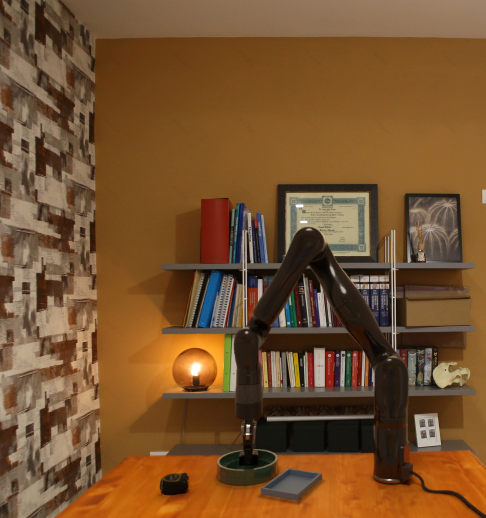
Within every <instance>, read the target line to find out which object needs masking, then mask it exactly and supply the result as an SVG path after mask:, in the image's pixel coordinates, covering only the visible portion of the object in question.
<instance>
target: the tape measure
mask: <svg viewBox="0 0 486 518" xmlns="http://www.w3.org/2000/svg"><path fill="white" fill-rule="evenodd" d="M189 477H190V476H189V475H188V473H187V472H181V473H176V472H175V473H169V474H166V475H164V476H163V477H161V479H160V481H159V490H160V492H161V494H163V495H167V496H174V495H178V494H182V493H187V492H188V490H189Z"/></svg>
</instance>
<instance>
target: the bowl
mask: <svg viewBox="0 0 486 518" xmlns="http://www.w3.org/2000/svg"><path fill="white" fill-rule="evenodd" d="M253 451H257V452H258V465H247V466H239V455H240V453H241V452H244V451H243V449H241V450H235V451H231V452H228V453H225V454H223V455H222V456H219V458H218V459H217V461H216V480H218V481H219V483H222V484H225V485H227V486H228V485H229V486H237V487H244V486H245V487H246V486H254V485H259V484H263V483H266V482H268V481H269V482H270V481H271V480H273V479H274V478H276V477H277V476H278V473H279V457H278V455H277V453H274V452H273V451H271V450H267V449H258V448H257V449H256V448H255V449H254V450H253Z"/></svg>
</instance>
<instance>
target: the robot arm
mask: <svg viewBox="0 0 486 518" xmlns="http://www.w3.org/2000/svg"><path fill="white" fill-rule="evenodd" d="M308 267H309V269H310V270H311V272H313V274H314V275H315V277H316V279H317V280H318V282H319V284H320V287H321V289H322V292H323V295H324V296H325V298H326V301H327V303H328V305H329V307H330V308H331V310H332V311H333V313H334V315H335V317H336V319H338V321H339V323H340V324H341V325H342V327H343V328H344V329H345V331H346V332H347V333H348V334H349V336H350V337H351V338H352V339H353V340H354V341H355V342H356V343H357V345H358V346H359V347H360V348H361V350H362V352H363V353H364V355H365V357H366V358H367V360H368V363H369V364H370V366H371V369H372V371H373V383H374V384H373V473H372V476H373V480H375V481H377V482H379V483H382V484H390V485H394V484H395V485H396V484H405V483H406V482H407V481H409V480H410V479H411V478H412V476H414V477H416V478H417V479H418V480H419V481H420V485H421V488H422V489H423V490H424V491H425V492H427V493H430V494H431V493H432V494H443V495H444V494H447V495H453V496H455V497H458V498H459V499H461V501H462V502H463V503H465V504H466V506H467V507H469V508H470V509H472V510H473V511H474V512H475V513H476V514H478V515H479V516H480V517H482V518H486V513H484V512H483V511H482V510H480V509H478V508H477V507H476V506H475V505H473V504H472V503H471V502H469V500H467V498H466V497H464V496H463V495H462V494H460V493H459V492H457V491H454V490H449V489H439V490H436V489H430V488H428V487H427V486H426V485H425V479H424V478H423V477H422V476H421V475H420V474H418V473H417V472H415V471H414V463H413V462H410V455H411V454H410V449H411V448H410V447H411V446H410V445H411V444H410V443H411V442H410V440H408V407H409V388H410V387H409V382H410V381H409V380H410V379H409V376H410V375H409V369H408V366H407V364H406V362H405V360H404V359H403V357H401V356H400V355H399V353H398V352H397V351H396V350H395V349H394V348H393V346H392V344H390V342H389V341H388V339H387V338H386V336H385V335H384V333H383V332H382V329H381V328H380V326H379V325H380V324H379V323H378V321H377V319H376V317H375V315H374V313H373V311H372V310H371V307H370V306H369V304H368V303H367V300H366V299H365V298H364V296H363V295H362V293H361V292H360V290H359V288H358V287H357V286H356V285H355V283H354V282H353V281H352V279H351V278H350V277H349V276H348V274H347V273H346V271H344V270H343V268H342V267H341V266H340V264H339V262H338V261H337V259H336V257H335V255H334V253H333V251H332V249H331V247H330V245H329V243H328V241H327V238H326V236H325V234H324V233H323V232H321V230H320V229H318V228H316V227H315V226H310V225H309V226H307V225H306V226H303V227H301V228H299V229H298V230H297V231H295V233H294V234H293V236H292V239H291V242H290V243H289V246H288V249H287V251H286V254H285V255H284V258H283V260H282V262H281V264H280V266H279V268H278V269H277V271H276V273H275V275H274V276H273V278H272V279H271V281H270V282H269V284H268V286H267V287H266V289H265V290H264V292H263V293H262V295H261V296H260V298H259V300H258V301H257V303H256V304H255V306H254V308H253V310H252V315H251V316H250V319H249V320H248V322H247V324H246V325H245V326H244V327H243V328H240V329H238V331H237V332H236V333H235V334H234V338H233V355H234V361H235V365H236V366H235V367H236V370H235V374H236V375H235V389H234V394H235V395H234V417H235V418H236V419H237V420H243V422H241V426H240V432H241V443H242V450H243V451H244V465H246V466H247V465H252V464H253V450H254V446H255V441H256V436H257V435H256V431H257V421H255V419H260V418H261V417H263V415H264V389H263V366H262V363H261V361H260V349H261V347H262V346H263V345H264V343H265V342H266V340H267V338H268V336H269V334H270V332H271V330H272V328H273V326H274V324H275V323H276V321H277V320H278V319H279V316H280V315H281V313H282V312H283V310H284V308H285V307H286V306H287V303H288V302H289V300H290V298H291V296H292V294H293V291H294V289H295V287H296V286H297V283H298V282H299V279H300V278H301V277H302V275H303V273H304V272H305V270H307V268H308Z"/></svg>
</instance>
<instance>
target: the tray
mask: <svg viewBox="0 0 486 518" xmlns="http://www.w3.org/2000/svg"><path fill="white" fill-rule="evenodd" d="M322 480H323V473H322V472H316V471H309V470H303V469H296V468H291V467H288V468H287V469H285V470H284V471H282V472H281V473H279V474H277V475H276V476H275V477H274V478H272V479H271V480H269V482H267V483H266V484H264V485H263V486H262V487H260V495H262V496H267V497H272V498H278V499H285V500H289V501H296V502H298V501H299V500H300V499H302V498H303V497H304V496H306V494H308V492H310V491H311V490H312V489H313V488H314V487H315V486H316V485H318V484H319V483H320V482H321V481H322Z"/></svg>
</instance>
